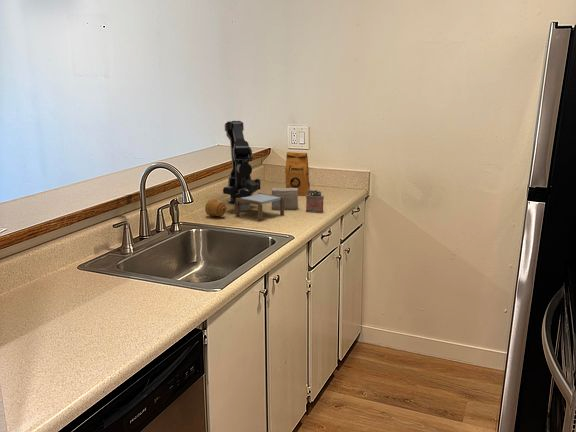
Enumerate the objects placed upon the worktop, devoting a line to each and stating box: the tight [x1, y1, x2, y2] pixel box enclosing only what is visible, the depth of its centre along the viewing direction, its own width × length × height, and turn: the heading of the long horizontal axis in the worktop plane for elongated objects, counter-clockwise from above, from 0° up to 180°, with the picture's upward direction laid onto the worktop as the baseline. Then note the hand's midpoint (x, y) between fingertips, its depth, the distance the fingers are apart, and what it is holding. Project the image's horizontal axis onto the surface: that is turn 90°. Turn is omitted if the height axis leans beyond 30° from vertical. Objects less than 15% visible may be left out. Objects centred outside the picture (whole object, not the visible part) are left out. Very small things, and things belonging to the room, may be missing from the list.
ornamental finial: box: [204, 198, 227, 218], centre depth 242 cm, size 8×8×8 cm
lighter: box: [305, 189, 325, 214], centre depth 252 cm, size 8×3×10 cm, turn 71°
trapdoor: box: [242, 193, 281, 205], centre depth 244 cm, size 12×12×1 cm
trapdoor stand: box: [235, 192, 285, 223], centre depth 245 cm, size 15×14×8 cm
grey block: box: [271, 187, 299, 210], centre depth 257 cm, size 12×4×10 cm, turn 89°
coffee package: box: [284, 151, 311, 197], centre depth 286 cm, size 10×12×22 cm
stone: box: [233, 197, 251, 212], centre depth 257 cm, size 5×5×5 cm
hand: (242, 207), depth 257 cm, fingers closed on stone, 5 cm apart
